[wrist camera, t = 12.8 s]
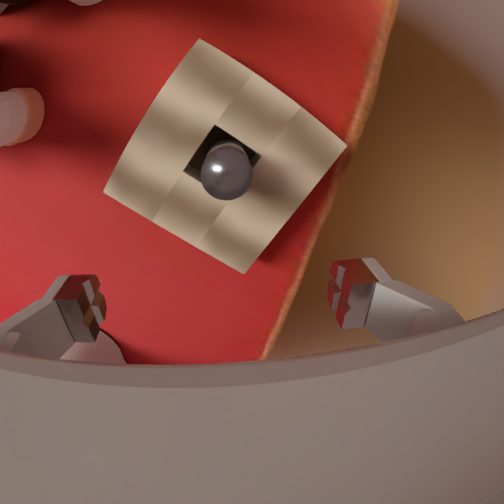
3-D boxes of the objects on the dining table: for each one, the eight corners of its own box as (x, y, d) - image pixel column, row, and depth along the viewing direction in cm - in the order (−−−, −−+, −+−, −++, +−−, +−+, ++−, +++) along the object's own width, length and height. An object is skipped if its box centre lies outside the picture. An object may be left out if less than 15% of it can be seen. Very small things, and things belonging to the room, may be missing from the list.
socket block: (241, 253, 38) (243, 274, 33) (117, 179, 32) (102, 192, 27) (330, 139, 32) (347, 145, 27) (202, 48, 26) (199, 38, 21)
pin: (232, 179, 32) (235, 209, 23) (201, 161, 31) (191, 185, 22) (252, 149, 31) (263, 167, 22) (220, 130, 29) (217, 140, 21)
